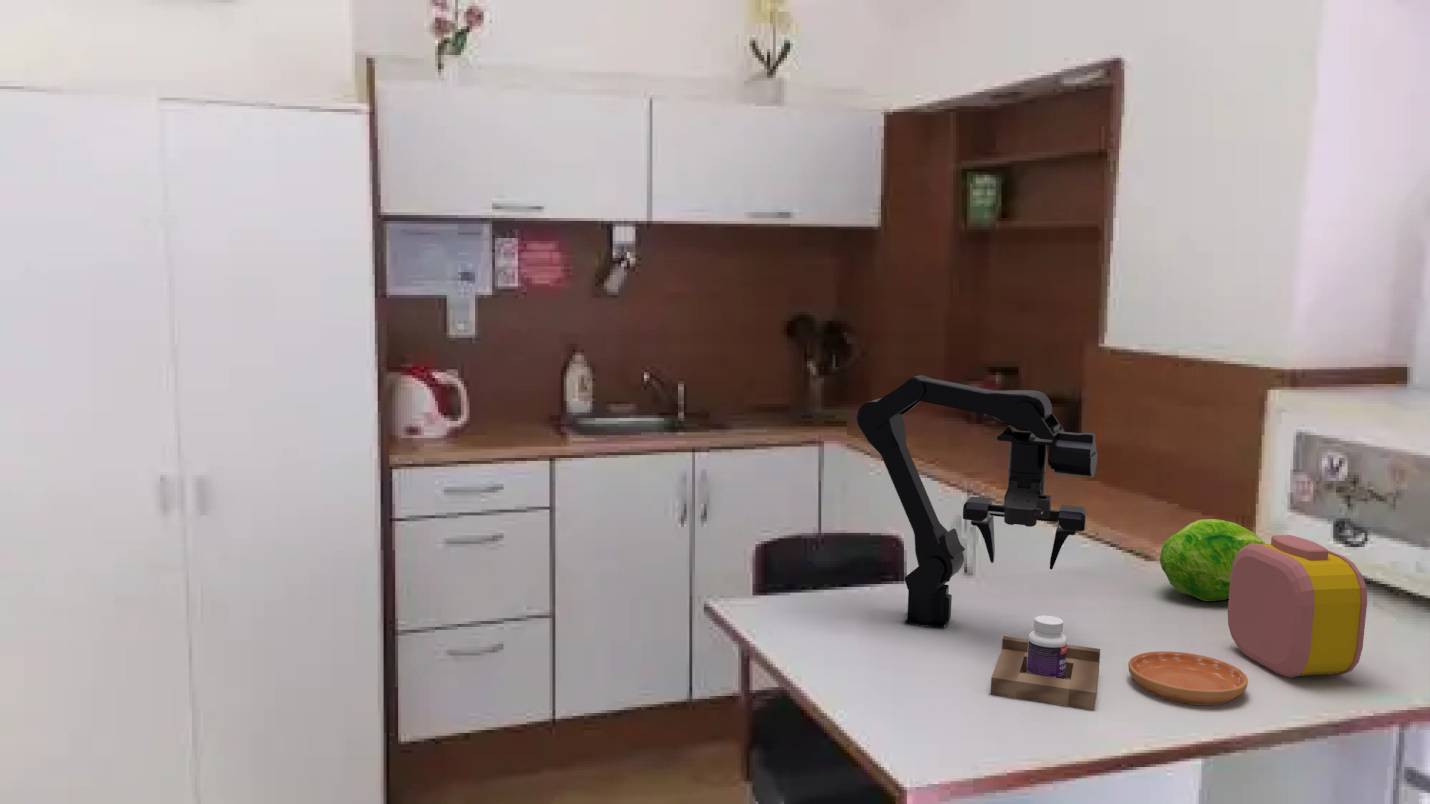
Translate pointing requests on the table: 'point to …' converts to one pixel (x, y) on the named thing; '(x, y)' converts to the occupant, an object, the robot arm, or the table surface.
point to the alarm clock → (1297, 607)
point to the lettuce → (1204, 557)
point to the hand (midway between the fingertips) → (1021, 565)
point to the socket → (1042, 688)
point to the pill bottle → (1047, 648)
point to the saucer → (1187, 677)
